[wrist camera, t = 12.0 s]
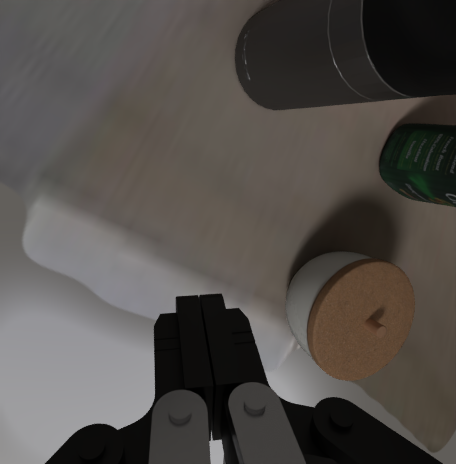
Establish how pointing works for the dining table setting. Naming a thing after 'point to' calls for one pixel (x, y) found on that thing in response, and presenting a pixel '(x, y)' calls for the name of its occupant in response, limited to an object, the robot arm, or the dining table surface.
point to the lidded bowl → (350, 312)
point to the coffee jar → (422, 163)
